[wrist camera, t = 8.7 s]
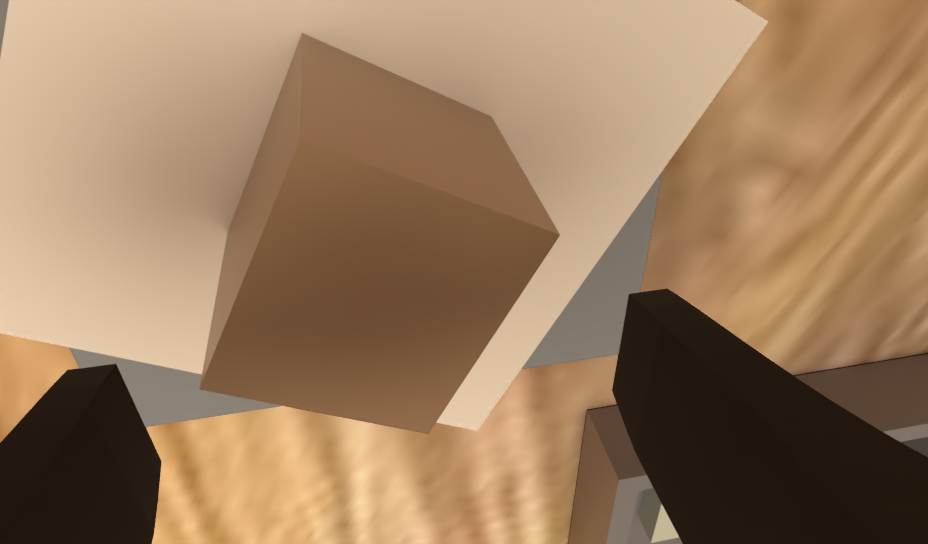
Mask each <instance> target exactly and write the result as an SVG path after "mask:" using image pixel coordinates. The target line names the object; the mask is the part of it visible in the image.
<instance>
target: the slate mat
mask: <svg viewBox="0 0 928 544" xmlns="http://www.w3.org/2000/svg"><path fill="white" fill-rule="evenodd" d="M8 3H9V0H0V56H1V50H2V43H3V37H4V30H5V23H6V17H7V10H8ZM662 172H663V171H662ZM662 172H661V173H660V175H659V176H658V178H657V179H656V180H655V182H654V183H653V185H652V186H651V187H650V189H649V190H648V192H647V193H646V194H645V196H644V197H643V199H642V200H641V201H640V203H639V204H638V206H637V207H636V209H635V210H634V211H633V213H632V214H631V216H630V217H629V218H628V220H627V221H626V223H625V224H624V225H623V227H622V228H621V230H620V231H619V232H618V234H617V235H616V237H615V238H614V239H613V241H612V242H611V244H610V245H609V246H608V248H607V249H606V251H605V252H604V253H603V255H602V256H601V258H600V259H599V260H598V262H597V263H596V265H595V266H594V267H593V269H592V270H591V272H590V273H589V274H588V276H587V277H586V279H585V280H584V282H583V283H582V284H581V286H580V287H579V289H578V290H577V291H576V293H575V294H574V296H573V297H572V298H571V300H570V301H569V303H568V304H567V305H566V307H565V308H564V310H563V311H562V312H561V314H560V315H559V317H558V318H557V319H556V321H555V322H554V324H553V325H552V326H551V328H550V329H549V331H548V332H547V333H546V335H545V336H544V338H543V339H542V340H541V342H540V343H539V345H538V346H537V348H536V349H535V350H534V352H533V353H532V355H531V356H530V357H529V359H528V360H527V362H526V363H525V364H524V366H523V367H522V369H526V368H532V367H539V366H546V365H552V364H559V363H565V362H572V361H578V360H585V359H591V358H598V357H604V356H611V355H617V354H619V348H620V343H621V337H622V331H623V325H624V319H625V314H626V308H627V302H628V296H629V294H632V293H640V291H641V285H642V280H643V275H644V269H645V264H646V258H647V253H648V247H649V242H650V237H651V231H652V226H653V220H654V215H655V210H656V204H657V199H658V193H659V188H660V182H661V177H662ZM69 348H70V347H69ZM70 350H71V352H72V354H73V356H74V358H75V360H76V362H77V364H78V366H79V368H88V367H95V366H102V365H110V364H116V365H117V367H118V369H119V371H120V373H121V375H122V378H123V380H124V382H125V384H126V386H127V388H128V391H129V393H130V395H131V397H132V399H133V401H134V404H135V406H136V408H137V410H138V412H139V414H140V416H141V419H142V421H143V423H144V425H145V427H148V426H155V425H161V424H168V423H174V422H181V421H187V420H194V419H200V418H207V417H213V416H220V415H226V414H233V413H239V412H246V411H252V410H259V409H265V408H272V407H278V406H281V405H276V404H271V403H266V402H261V401H256V400H251V399H246V398H240V397H235V396H230V395H225V394H220V393H215V392H210V391H204V390H199V388H200V382H201V377H202V374H197V373H192V372H187V371H182V370H178V369H173V368H168V367H163V366H158V365H153V364H148V363H143V362H138V361H133V360H129V359H124V358H119V357H114V356H109V355H104V354H99V353H94V352H89V351H84V350H80V349H75V348H70Z"/></svg>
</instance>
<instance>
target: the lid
mask: <svg viewBox="0 0 928 544" xmlns="http://www.w3.org/2000/svg"><path fill="white" fill-rule="evenodd" d="M767 23H768V21H767V20H765V19H763V18H762V17H760V16H759V15H757V14H756V13H754V12H753V11H751V10H750V9H748V8H746V7H745V6H743V5H742V4H740V3H739V2H737V1H736V0H9V3H8V10H7V17H6V23H5V30H4V37H3V43H2V50H1V56H0V333H1V334H6V335H11V336H16V337H21V338H26V339H31V340H36V341H40V342H45V343H50V344H55V345H60V346H65V347H70V348H75V349H80V350H84V351H89V352H94V353H99V354H104V355H109V356H114V357H119V358H124V359H129V360H133V361H138V362H143V363H148V364H153V365H158V366H163V367H168V368H173V369H178V370H182V371H187V372H192V373H197V374H202V377H201V382H200V388H199V390H204V391H210V392H215V393H220V394H225V395H230V396H235V397H240V398H246V399H251V400H256V401H261V402H266V403H271V404H276V405H281V406H287V407H292V408H297V409H302V410H307V411H312V412H317V413H323V414H328V415H333V416H338V417H343V418H348V419H353V420H358V421H364V422H369V423H374V424H379V425H384V426H389V427H394V428H400V429H405V430H410V431H415V432H420V433H425V434H429V432H430V431H431V429H432V428H433V426H434V425H435V423H436V422H437V423H442V424H447V425H452V426H457V427H461V428H466V429H471V430H476V431H477V430H478V429H479V428H480V426H481V425H482V423H483V422H484V421H485V419H486V418H487V416H488V415H489V413H490V412H491V411H492V409H493V408H494V406H495V405H496V404H497V402H498V401H499V399H500V398H501V397H502V395H503V394H504V392H505V391H506V390H507V388H508V387H509V385H510V384H511V383H512V381H513V380H514V378H515V377H516V376H517V374H518V373H519V371H520V370H521V369H522V367H523V366H524V364H525V363H526V362H527V360H528V359H529V357H530V356H531V355H532V353H533V352H534V350H535V349H536V348H537V346H538V345H539V343H540V342H541V340H542V339H543V338H544V336H545V335H546V333H547V332H548V331H549V329H550V328H551V326H552V325H553V324H554V322H555V321H556V319H557V318H558V317H559V315H560V314H561V312H562V311H563V310H564V308H565V307H566V305H567V304H568V303H569V301H570V300H571V298H572V297H573V296H574V294H575V293H576V291H577V290H578V289H579V287H580V286H581V284H582V283H583V282H584V280H585V279H586V277H587V276H588V274H589V273H590V272H591V270H592V269H593V267H594V266H595V265H596V263H597V262H598V260H599V259H600V258H601V256H602V255H603V253H604V252H605V251H606V249H607V248H608V246H609V245H610V244H611V242H612V241H613V239H614V238H615V237H616V235H617V234H618V232H619V231H620V230H621V228H622V227H623V225H624V224H625V223H626V221H627V220H628V218H629V217H630V216H631V214H632V213H633V211H634V210H635V209H636V207H637V206H638V204H639V203H640V201H641V200H642V199H643V197H644V196H645V194H646V193H647V192H648V190H649V189H650V187H651V186H652V185H653V183H654V182H655V180H656V179H657V178H658V176H659V175H660V173H661V172H662V171H663V169H664V168H665V166H666V165H667V164H668V162H669V161H670V159H671V158H672V157H673V155H674V154H675V152H676V151H677V150H678V148H679V147H680V145H681V144H682V143H683V141H684V140H685V138H686V137H687V135H688V134H689V133H690V131H691V130H692V128H693V127H694V126H695V124H696V123H697V121H698V120H699V119H700V117H701V116H702V114H703V113H704V112H705V110H706V109H707V107H708V106H709V105H710V103H711V102H712V100H713V99H714V98H715V96H716V95H717V93H718V92H719V91H720V89H721V88H722V86H723V85H724V84H725V82H726V81H727V79H728V78H729V77H730V75H731V74H732V72H733V71H734V69H735V68H736V67H737V65H738V64H739V62H740V61H741V60H742V58H743V57H744V55H745V54H746V53H747V51H748V50H749V48H750V47H751V46H752V44H753V43H754V41H755V40H756V39H757V37H758V36H759V34H760V33H761V32H762V30H763V29H764V27H765V26H766V25H767Z"/></svg>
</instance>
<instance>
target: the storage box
mask: <svg viewBox="0 0 928 544" xmlns="http://www.w3.org/2000/svg"><path fill="white" fill-rule="evenodd" d="M795 377H796V378H798V379H799V380H801V381H802V382H804V383H805V384H807V385H808V386H810V387H811V388H813V389H814V390H816V391H817V392H819V393H821V394H822V395H824V396H825V397H827V398H828V399H830V400H831V401H833V402H835V403H836V404H838V405H840V406H841V407H843V408H844V409H846V410H848V411H849V412H851V413H853V414H854V415H856V416H858V417H859V418H861V419H862V420H864V421H866V422H867V423H869V424H871V425H872V426H874V427H875V428H877V429H879V430H880V431H882V432H884V433H886V434H887V435H889V436H891V437H892V438H894V439H896V440H898V441H899V442H901V443H903V444H905V445H906V446H908V447H910V448H912V449H914V450H915V451H917V452H919V453H921V454H923V455H925V456H927V457H928V354H924V355H918V356H912V357H906V358H900V359H894V360H888V361H882V362H876V363H870V364H864V365H858V366H852V367H846V368H840V369H834V370H828V371H822V372H816V373H810V374H804V375H798V376H795ZM568 544H683V543H682V542H681V540H680V538H679V536H678V534H677V532H676V530H675V528H674V526H673V524H672V522H671V521H670V519H669V517H668V515H667V513H666V511H665V509H664V507H663V505H662V503H661V502H660V500H659V498H658V496H657V494H656V492H655V490H654V488H653V486H652V484H651V482H650V480H649V478H648V476H647V474H646V472H645V471H644V469H643V467H642V465H641V463H640V461H639V459H638V457H637V455H636V453H635V451H634V448H633V446H632V443H631V440H630V438H629V435H628V433H627V430H626V427H625V425H624V422H623V419H622V417H621V414H620V411H619V408H618V405H617V406H610V407H604V408H598V409H592V410H587V414H586V421H585V428H584V435H583V442H582V449H581V456H580V463H579V470H578V477H577V484H576V491H575V498H574V505H573V512H572V519H571V526H570V534H569V541H568Z"/></svg>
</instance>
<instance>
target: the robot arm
mask: <svg viewBox="0 0 928 544" xmlns="http://www.w3.org/2000/svg"><path fill="white" fill-rule="evenodd" d="M612 391H613V394H614V397H615V400H616V402H617V405H618V408H619V411H620V414H621V417H622V419H623V422H624V425H625V427H626V430H627V433H628V435H629V438H630V440H631V443H632V446H633V448H634V451H635V453H636V455H637V457H638V459H639V461H640V463H641V465H642V467H643V469H644V471H645V472H646V474H647V476H648V478H649V480H650V482H651V484H652V486H653V488H654V490H655V492H656V494H657V496H658V498H659V500H660V502H661V503H662V505H663V507H664V509H665V511H666V513H667V515H668V517H669V519H670V521H671V522H672V524H673V526H674V528H675V530H676V532H677V534H678V536H679V538H680V540H681V542H682V543H683V544H928V457H927V456H925V455H923V454H921V453H919V452H917V451H915V450H914V449H912V448H910V447H908V446H906V445H905V444H903V443H901V442H899V441H898V440H896V439H894V438H892V437H891V436H889V435H887V434H886V433H884V432H882V431H880V430H879V429H877V428H875V427H874V426H872V425H871V424H869V423H867V422H866V421H864V420H862V419H861V418H859V417H858V416H856V415H854V414H853V413H851V412H849V411H848V410H846V409H844V408H843V407H841V406H840V405H838V404H836V403H835V402H833V401H831V400H830V399H828V398H827V397H825V396H824V395H822V394H821V393H819V392H817V391H816V390H814V389H813V388H811V387H810V386H808V385H807V384H805V383H804V382H802V381H801V380H799V379H798V378H796V377H795V376H793V375H792V374H790V373H789V372H787V371H786V370H784V369H783V368H781V367H780V366H778V365H777V364H775V363H774V362H772V361H771V360H769V359H768V358H767V357H765V356H764V355H762V354H761V353H759V352H758V351H756V350H755V349H754V348H752V347H751V346H749V345H748V344H746V343H745V342H744V341H742V340H741V339H739V338H738V337H737V336H735V335H734V334H732V333H731V332H729V331H728V330H727V329H725V328H724V327H722V326H721V325H720V324H718V323H717V322H715V321H714V320H712V319H711V318H710V317H708V316H707V315H705V314H704V313H703V312H701V311H700V310H698V309H697V308H695V307H694V306H693V305H691V304H690V303H688V302H687V301H685V300H684V299H682V298H681V297H679V296H678V295H676V294H675V293H673V292H672V291H670V290H669V289H662V290H654V291H647V292H640V293H632V294H629V296H628V302H627V308H626V314H625V319H624V325H623V331H622V337H621V343H620V348H619V354H618V360H617V366H616V372H615V378H614V383H613V389H612ZM160 470H161V460H160V458H159V455H158V453H157V451H156V449H155V447H154V445H153V442H152V440H151V438H150V436H149V434H148V432H147V429H146V427H145V425H144V423H143V421H142V419H141V416H140V414H139V412H138V410H137V408H136V406H135V404H134V401H133V399H132V397H131V395H130V393H129V391H128V388H127V386H126V384H125V382H124V380H123V378H122V375H121V373H120V371H119V369H118V367H117V365H116V364H110V365H102V366H95V367H88V368H80V369H73V370H67V371H66V372H65V373H64V374H63V375H62V376H61V377H60V378H59V379H58V380H57V382H56V383H55V384H54V385H53V386H52V387H51V388H50V389H49V390H48V391H47V392H46V393H45V394H44V395H43V397H42V398H41V399H40V400H39V401H38V402H37V403H36V404H35V405H34V406H33V408H32V409H31V410H30V411H29V412H28V413H27V414H26V415H25V416H24V418H23V419H22V420H21V421H20V422H19V423H18V424H17V425H16V426H15V428H14V429H13V430H12V431H11V432H10V433H9V434H8V435H7V436H6V437H5V439H4V440H3V441H2V442H1V443H0V544H152V539H153V535H154V527H155V519H156V511H157V502H158V492H159V481H160Z"/></svg>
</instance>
